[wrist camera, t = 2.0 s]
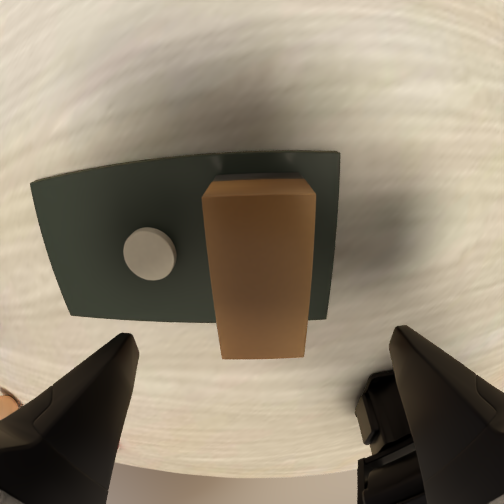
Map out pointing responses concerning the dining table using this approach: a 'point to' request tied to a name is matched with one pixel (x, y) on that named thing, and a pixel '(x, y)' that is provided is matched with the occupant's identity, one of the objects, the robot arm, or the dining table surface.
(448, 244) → the dining table surface
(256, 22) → the dining table surface
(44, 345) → the dining table surface
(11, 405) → the egg
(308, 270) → the brown rectangular block
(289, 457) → the dining table surface
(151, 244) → the beige disc
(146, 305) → the chalkboard
